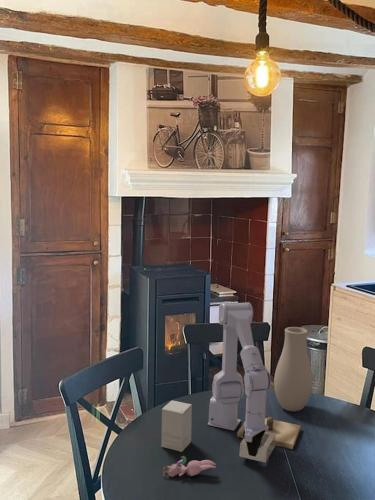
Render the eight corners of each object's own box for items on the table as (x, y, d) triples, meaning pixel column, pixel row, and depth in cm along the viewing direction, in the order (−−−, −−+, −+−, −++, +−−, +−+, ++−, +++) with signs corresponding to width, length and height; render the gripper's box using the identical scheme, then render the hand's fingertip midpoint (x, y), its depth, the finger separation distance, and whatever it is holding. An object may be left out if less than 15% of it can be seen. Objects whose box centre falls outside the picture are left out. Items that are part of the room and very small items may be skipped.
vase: (272, 399, 196) (276, 323, 192) (308, 402, 194) (313, 325, 190) (273, 415, 183) (277, 334, 178) (312, 418, 181) (317, 336, 177)
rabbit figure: (164, 485, 141) (217, 477, 141) (161, 465, 140) (215, 457, 141) (164, 472, 147) (215, 465, 148) (161, 453, 146) (213, 446, 147)
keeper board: (237, 436, 166) (237, 420, 166) (249, 418, 179) (249, 403, 178) (292, 449, 160) (293, 432, 159) (300, 429, 172) (301, 414, 172)
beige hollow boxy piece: (239, 456, 151) (240, 443, 151) (250, 440, 162) (251, 428, 162) (265, 462, 148) (266, 449, 148) (274, 446, 159) (275, 433, 159)
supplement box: (191, 441, 162) (192, 404, 161) (181, 452, 156) (182, 413, 154) (171, 436, 165) (171, 399, 164) (160, 446, 159) (161, 408, 157)
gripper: (262, 423, 140) (260, 469, 142) (274, 402, 154) (272, 445, 156) (238, 418, 143) (236, 463, 145) (252, 398, 156) (250, 439, 158)
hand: (253, 453), depth 150 cm, fingers closed on beige hollow boxy piece, 2 cm apart
